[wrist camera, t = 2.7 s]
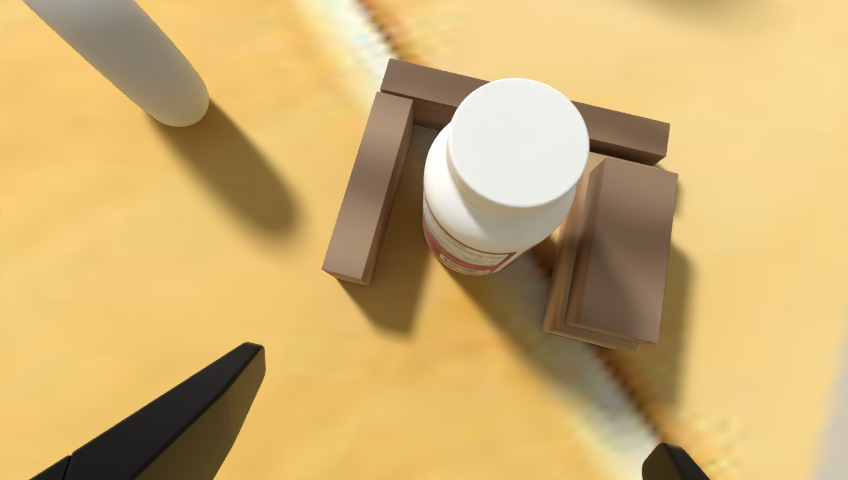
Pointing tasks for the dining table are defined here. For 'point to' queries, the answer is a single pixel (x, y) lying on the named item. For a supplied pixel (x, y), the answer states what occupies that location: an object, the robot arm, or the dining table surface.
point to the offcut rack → (580, 230)
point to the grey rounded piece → (130, 55)
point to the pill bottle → (502, 174)
